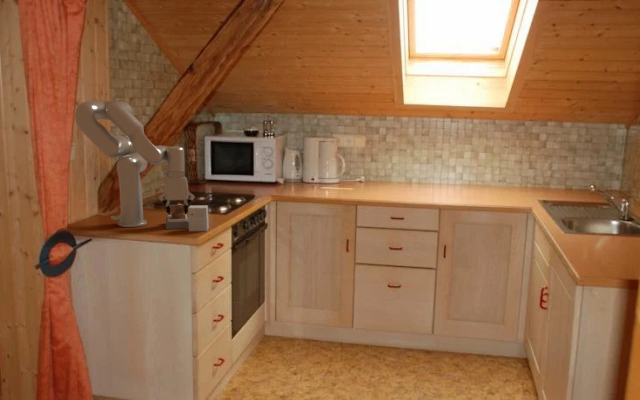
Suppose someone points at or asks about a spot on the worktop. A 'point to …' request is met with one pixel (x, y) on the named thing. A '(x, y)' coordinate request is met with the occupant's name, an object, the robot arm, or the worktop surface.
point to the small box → (198, 218)
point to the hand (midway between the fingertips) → (177, 213)
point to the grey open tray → (177, 222)
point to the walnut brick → (177, 211)
